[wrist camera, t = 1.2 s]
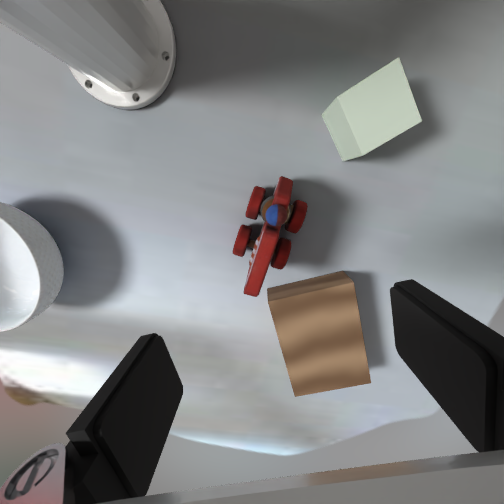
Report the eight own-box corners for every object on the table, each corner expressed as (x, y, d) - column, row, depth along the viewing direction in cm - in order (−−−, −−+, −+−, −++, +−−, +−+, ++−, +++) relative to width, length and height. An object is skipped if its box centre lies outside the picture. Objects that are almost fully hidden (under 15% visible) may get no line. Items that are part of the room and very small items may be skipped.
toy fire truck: (310, 188, 30) (334, 190, 20) (276, 273, 33) (282, 311, 23) (259, 170, 30) (258, 163, 20) (230, 257, 33) (217, 289, 23)
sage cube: (321, 115, 28) (337, 96, 22) (369, 84, 27) (399, 57, 21) (342, 161, 29) (362, 155, 23) (389, 134, 28) (422, 121, 22)
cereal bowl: (3, 168, 31) (-69, 163, 24) (107, 253, 34) (67, 270, 27) (-49, 255, 35) (-124, 272, 28) (48, 325, 37) (0, 356, 31)
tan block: (267, 288, 34) (267, 301, 30) (342, 270, 33) (353, 282, 29) (291, 375, 38) (295, 396, 34) (359, 362, 37) (371, 382, 33)
